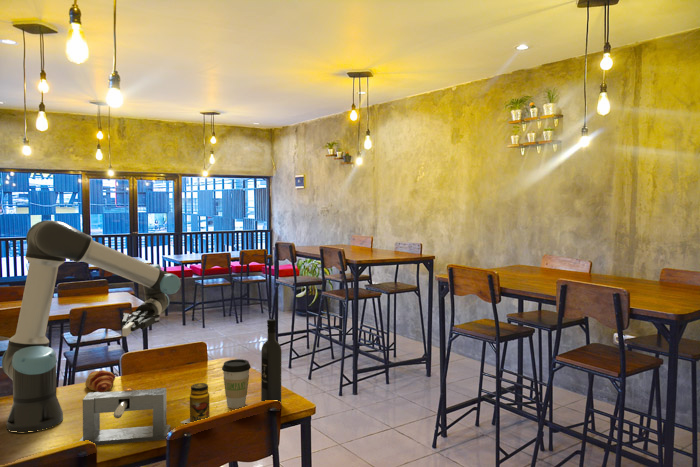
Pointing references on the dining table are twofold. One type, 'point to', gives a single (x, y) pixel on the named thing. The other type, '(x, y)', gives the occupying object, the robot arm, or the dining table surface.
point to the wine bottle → (271, 366)
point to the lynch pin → (122, 405)
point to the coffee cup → (236, 382)
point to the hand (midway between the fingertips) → (124, 332)
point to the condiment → (198, 403)
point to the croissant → (100, 380)
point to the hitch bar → (138, 401)
